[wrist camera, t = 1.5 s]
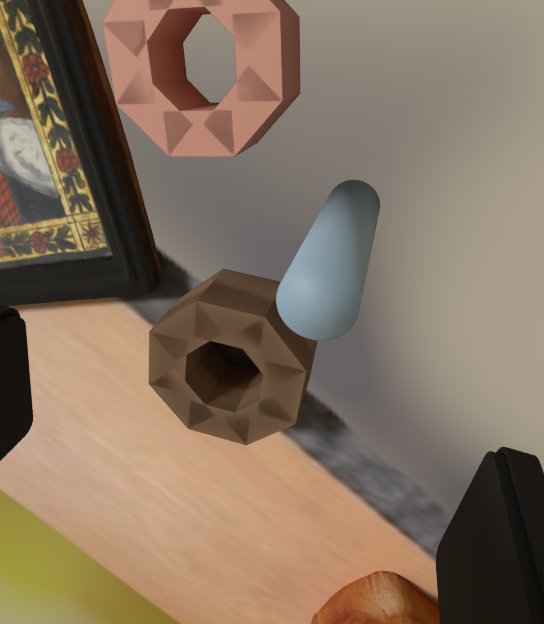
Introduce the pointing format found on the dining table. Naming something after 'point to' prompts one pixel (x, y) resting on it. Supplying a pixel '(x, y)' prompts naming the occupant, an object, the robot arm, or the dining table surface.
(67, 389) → the dining table surface
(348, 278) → the dowel
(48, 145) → the religious icon
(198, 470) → the dining table surface
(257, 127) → the pink octagonal nut
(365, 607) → the ceramic vessel
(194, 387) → the bead
